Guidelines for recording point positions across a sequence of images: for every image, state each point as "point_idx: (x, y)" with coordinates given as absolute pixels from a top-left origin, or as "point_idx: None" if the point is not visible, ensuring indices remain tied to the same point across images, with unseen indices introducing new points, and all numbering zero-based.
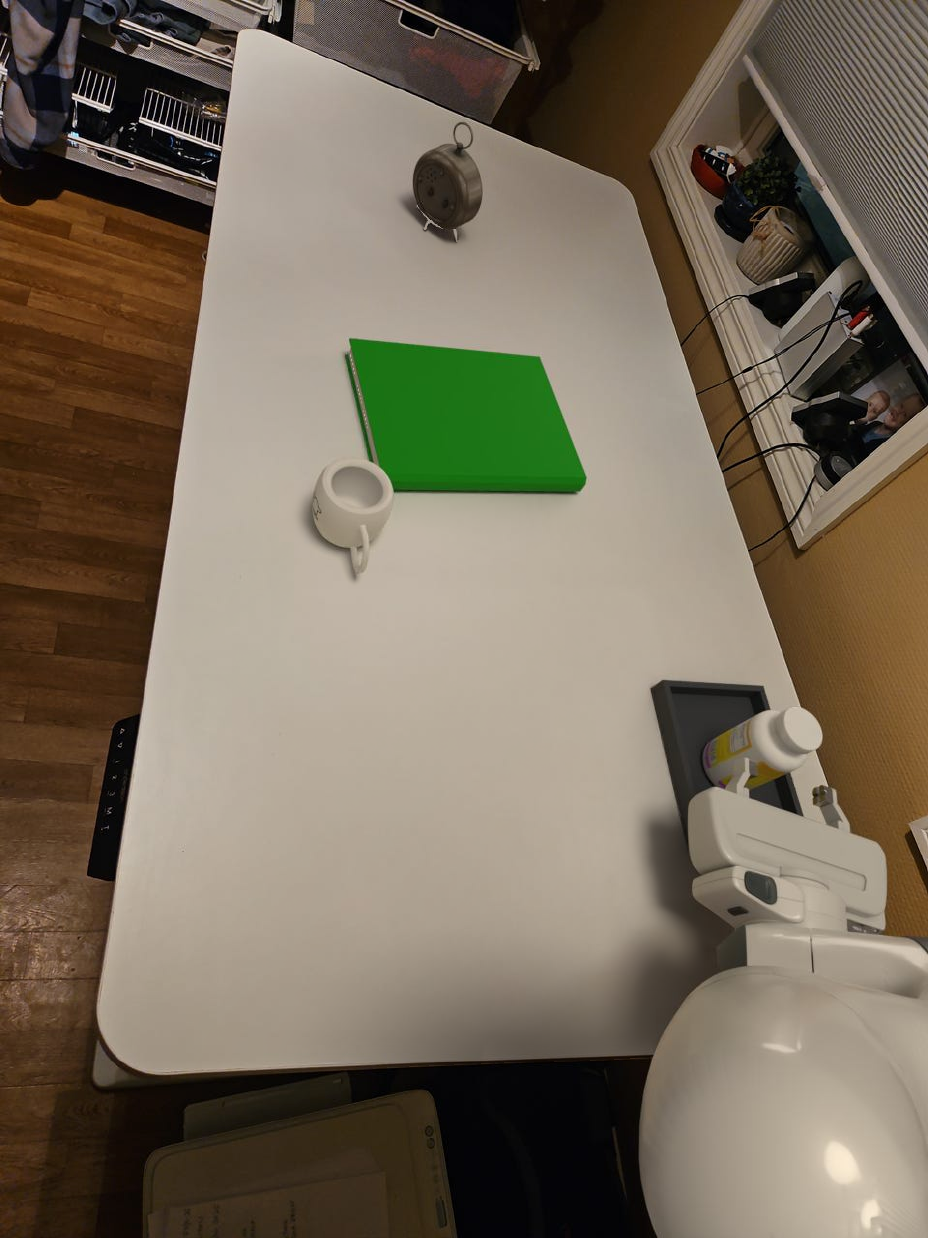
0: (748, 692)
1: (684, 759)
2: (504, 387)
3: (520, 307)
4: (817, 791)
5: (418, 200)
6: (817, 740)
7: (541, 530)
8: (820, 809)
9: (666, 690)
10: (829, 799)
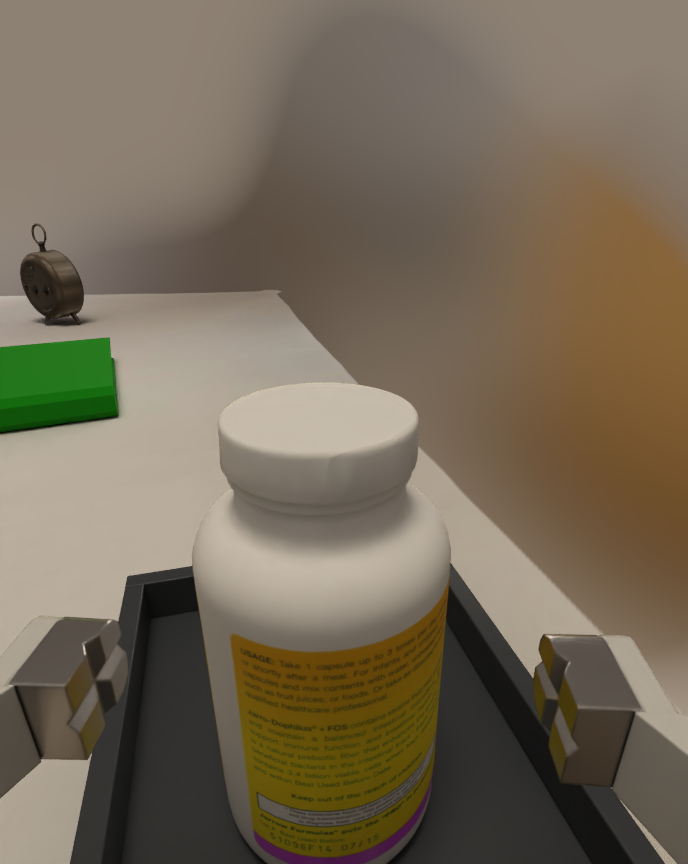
0: None
1: (99, 781)
2: (35, 356)
3: (129, 336)
4: (545, 687)
5: (33, 304)
6: (387, 425)
7: (20, 456)
8: (621, 800)
9: (126, 594)
10: (606, 695)
